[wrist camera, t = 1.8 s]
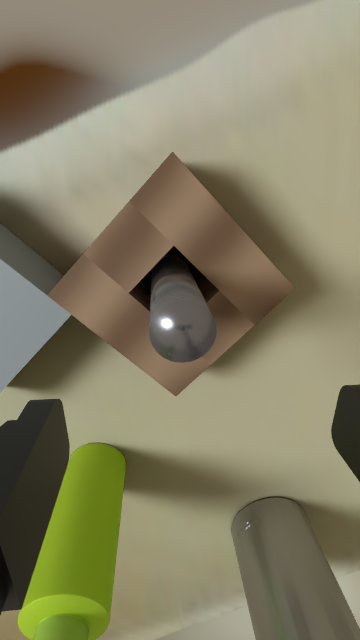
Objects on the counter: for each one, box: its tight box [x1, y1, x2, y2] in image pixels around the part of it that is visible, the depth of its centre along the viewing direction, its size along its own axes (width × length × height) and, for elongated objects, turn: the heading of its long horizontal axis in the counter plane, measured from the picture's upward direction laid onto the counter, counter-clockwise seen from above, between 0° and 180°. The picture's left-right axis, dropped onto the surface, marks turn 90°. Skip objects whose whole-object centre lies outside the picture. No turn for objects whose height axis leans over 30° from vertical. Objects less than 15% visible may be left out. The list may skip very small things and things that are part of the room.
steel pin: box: [149, 256, 217, 363], centre depth 20 cm, size 3×3×12 cm
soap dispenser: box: [18, 443, 126, 640], centre depth 23 cm, size 6×7×20 cm
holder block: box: [47, 152, 295, 396], centre depth 24 cm, size 12×12×5 cm
